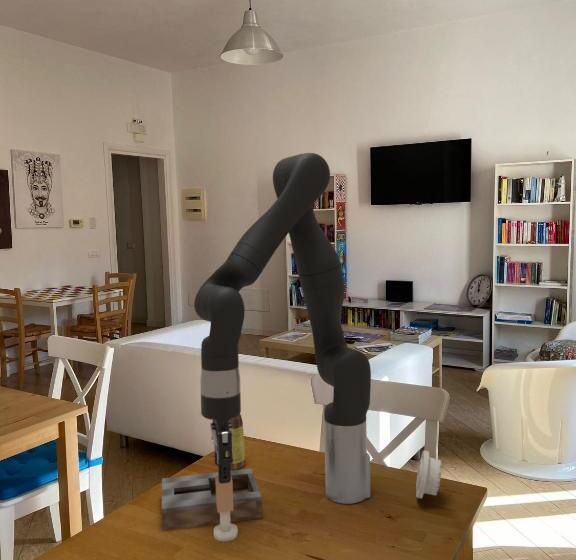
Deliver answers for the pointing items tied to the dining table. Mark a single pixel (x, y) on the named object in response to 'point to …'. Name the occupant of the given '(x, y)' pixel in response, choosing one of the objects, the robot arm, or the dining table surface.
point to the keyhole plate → (212, 512)
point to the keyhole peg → (224, 512)
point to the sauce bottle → (237, 443)
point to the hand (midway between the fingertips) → (222, 472)
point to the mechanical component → (428, 475)
